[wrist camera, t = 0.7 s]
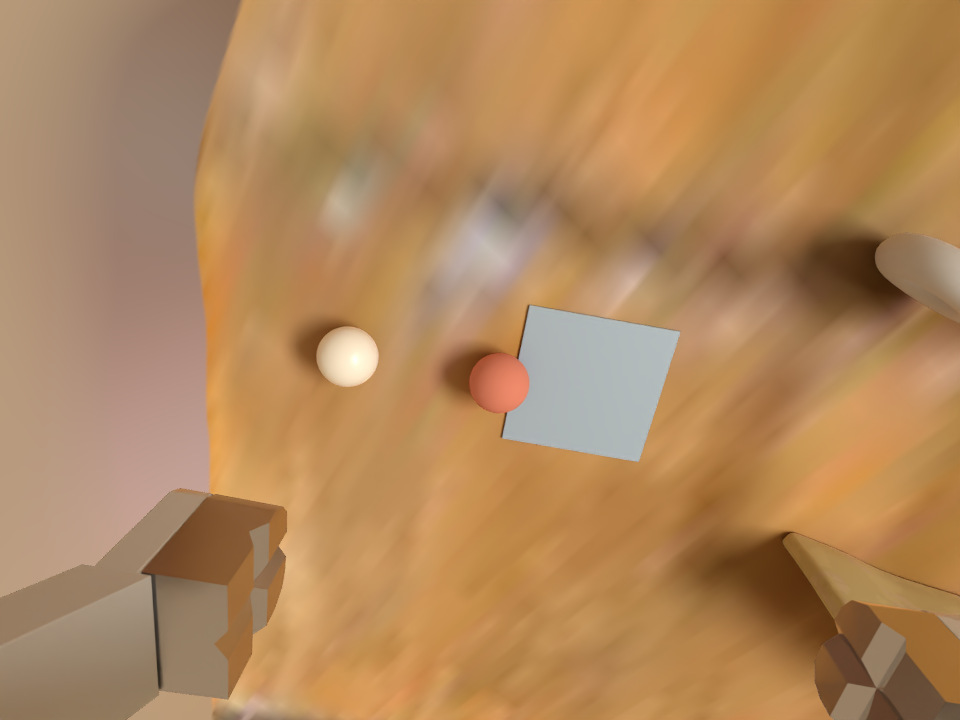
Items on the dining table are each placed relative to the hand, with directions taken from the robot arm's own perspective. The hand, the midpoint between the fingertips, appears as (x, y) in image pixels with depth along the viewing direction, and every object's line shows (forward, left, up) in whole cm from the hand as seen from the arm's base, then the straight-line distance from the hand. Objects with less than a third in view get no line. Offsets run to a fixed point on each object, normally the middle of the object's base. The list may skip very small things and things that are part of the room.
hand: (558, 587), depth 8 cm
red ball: (+14, +1, -40) cm, 42 cm away
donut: (-2, +33, -43) cm, 54 cm away
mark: (+14, +10, -42) cm, 45 cm away
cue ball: (+14, -13, -40) cm, 44 cm away
